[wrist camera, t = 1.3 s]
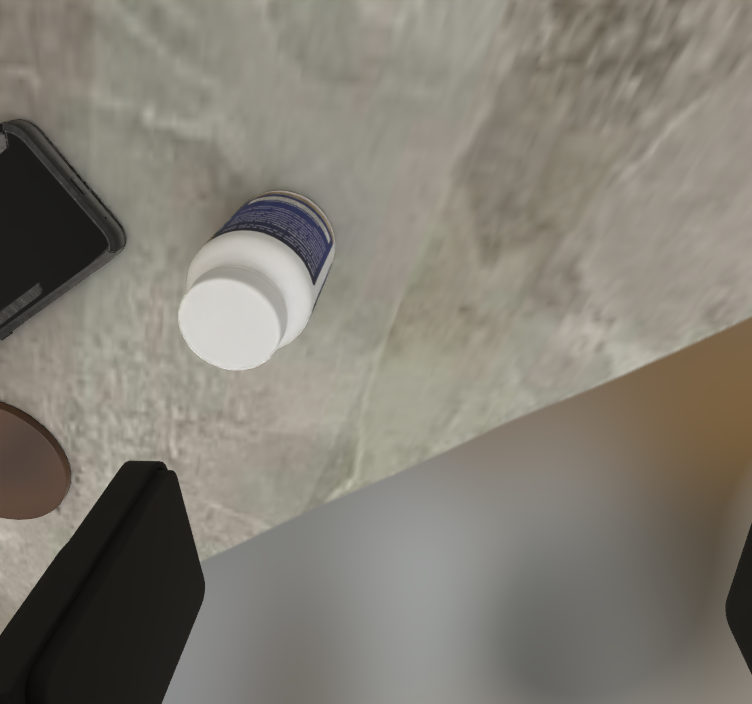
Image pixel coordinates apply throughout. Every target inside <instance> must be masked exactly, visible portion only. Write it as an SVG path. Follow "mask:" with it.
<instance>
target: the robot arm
mask: <svg viewBox="0 0 752 704" xmlns="http://www.w3.org/2000/svg"><path fill="white" fill-rule="evenodd" d="M204 593H205V581H204V577H203V573H202V569H201V565H200V561H199V558H198V554H197V550H196V546H195V542H194V539H193V535H192V531H191V527H190V524H189V520H188V516H187V512H186V508H185V505H184V501H183V497H182V493H181V490H180V486H179V482H178V478H177V475H176V473H175V472H174V471H172V470H168V469H167V467H166V465H165V464H164V463H163V462H160V461H128V462H125V463H124V464H123V466H122V467H121V468H120V469H119V471H118V472H117V474H116V475H115V477H114V478H113V479H112V481H111V482H110V484H109V485H108V486H107V488H106V489H105V491H104V492H103V494H102V495H101V496H100V498H99V499H98V501H97V502H96V503H95V505H94V506H93V508H92V509H91V511H90V512H89V513H88V515H87V516H86V518H85V519H84V521H83V522H82V523H81V525H80V526H79V528H78V529H77V530H76V532H75V533H74V535H73V536H72V538H71V539H70V540H69V542H68V543H67V544H66V545H65V546H64V547H63V548H62V549H61V550H60V552H59V553H58V554H57V556H56V557H55V559H54V560H53V561H52V563H51V564H50V566H49V567H48V568H47V570H46V571H45V573H44V574H43V576H42V577H41V578H40V580H39V581H38V583H37V584H36V585H35V587H34V588H33V590H32V591H31V592H30V594H29V595H28V597H27V598H26V600H25V601H24V602H23V604H22V605H21V607H20V608H19V609H18V611H17V612H16V614H15V615H14V616H13V618H12V619H11V621H10V622H9V624H8V625H7V626H6V628H5V629H4V631H3V632H2V633H1V635H0V704H162V701H163V699H164V696H165V693H166V691H167V689H168V686H169V684H170V681H171V679H172V676H173V674H174V671H175V669H176V666H177V664H178V662H179V659H180V656H181V654H182V652H183V649H184V647H185V644H186V642H187V639H188V637H189V634H190V632H191V629H192V627H193V624H194V622H195V620H196V617H197V614H198V612H199V610H200V607H201V605H202V602H203V598H204ZM726 617H727V621H728V624H729V627H730V629H731V631H732V634H733V636H734V638H735V640H736V642H737V644H738V646H739V648H740V650H741V653H742V655H743V657H744V659H745V661H746V663H747V665H748V668H749V670H750V672H751V674H752V524H751V527H750V530H749V533H748V536H747V539H746V542H745V545H744V548H743V552H742V555H741V558H740V560H739V563H738V567H737V570H736V573H735V576H734V579H733V582H732V585H731V588H730V591H729V594H728V597H727V600H726Z"/></svg>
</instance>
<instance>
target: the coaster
mask: <svg viewBox="0 0 752 704" xmlns="http://www.w3.org/2000/svg"><path fill="white" fill-rule="evenodd" d="M70 483H71V472H70V466H69V463H68V460H67V457H66V455H65V453H64V451H63V449H62V448H61V446H60V445H59V443H58V442H57V441H56V439H55V438H54V437H53V436H52V435H51V434H50V433H49V432H48V431H47V430H46V429H45V428H44V427H43V426H42V425H41V424H40V423H38V422H37V421H36V420H34V419H33V418H31V417H30V416H29V415H27V414H25V413H24V412H22V411H20V410H18V409H16V408H14V407H12V406H10V405H7V404H5V403H2V402H0V518H6V519H16V520H23V519H32V518H37V517H41V516H43V515H46V514H48V513H50V512H51V511H53V510H54V509H55V508H56V507H57V506H58V505H59V504H60V503H61V502H62V501H63V499H64V498H65V496H66V495H67V493H68V490H69V488H70Z"/></svg>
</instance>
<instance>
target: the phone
mask: <svg viewBox="0 0 752 704" xmlns="http://www.w3.org/2000/svg"><path fill="white" fill-rule="evenodd" d="M125 243H126V239H125V234H124V231H123V229H122V227H121V226H120V224H119V223H118V222H117V221H116V219H115V218H114V217H113V216H112V215H111V213H110V212H109V211H108V210H107V209H106V208H105V206H104V205H103V204H102V203H101V202H100V201H99V199H98V198H97V197H96V196H95V195H94V193H93V192H92V191H91V190H90V189H89V188H88V186H87V185H86V184H85V183H84V182H83V180H82V179H81V178H80V177H79V176H78V175H77V173H76V172H75V171H74V170H73V169H72V168H71V166H70V165H69V164H68V163H67V162H66V160H65V159H64V158H63V157H62V156H61V155H60V153H59V152H58V151H57V150H56V149H55V148H54V146H53V145H52V144H51V143H50V142H49V140H48V139H47V138H46V137H45V136H44V135H43V133H42V132H41V131H40V130H39V129H38V128H37V127H36V126H35V125H33V124H31V123H29V122H28V121H24V120H20V119H18V120H11V121H8V122H4V123H1V124H0V339H1V340H3V339H5V338H6V337H8V336H9V335H10V334H12V333H13V332H12V331H13V330H14V329H15V328H17V327H18V326H20V325H21V324H22V323H24V322H25V321H27V320H28V319H29V318H31V317H32V316H33V315H35V314H36V313H38V312H39V311H40V310H42V309H43V308H45V307H46V306H47V305H49V304H50V303H52V302H53V301H54V300H56V299H57V298H59V297H60V296H61V295H63V294H64V293H66V292H67V291H68V290H70V289H71V288H73V287H74V286H75V285H77V284H78V283H79V282H81V281H82V280H84V279H85V278H86V277H88V276H89V275H91V274H92V273H93V272H95V271H96V270H98V269H99V268H100V267H102V266H103V265H105V264H106V263H107V262H109V261H110V260H111V259H113V258H114V257H115V256H116V255H118V254H119V253H120V252H121V251H122V250H123V249H124V246H125Z"/></svg>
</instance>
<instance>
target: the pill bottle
mask: <svg viewBox="0 0 752 704" xmlns="http://www.w3.org/2000/svg"><path fill="white" fill-rule="evenodd" d="M334 254H335V238H334V234H333V230H332V227H331V225H330V223H329V221H328V219H327V217H326V216H325V214H324V213H323V212H322V210H321V209H320V208H319V207H318V206H317V205H316V204H314V203H313V202H312V201H310V200H309V199H307V198H306V197H304V196H302V195H299V194H296V193H293V192H289V191H269V192H265V193H262V194H259V195H257V196H255V197H253V198H252V199H250V200H249V201H248V202H246V203H245V204H244V205H243V206H242V207H241V208H240V209H239V210H238V211H237V212H236V213H235V214H234V215H233V216H232V217H231V218H230V219H229V220H228V221H227V222H226V223H225V224H224V225H223V226H222V227H221V228H220V229H219V230H218V231H217V232H216V233H215V234H214V235H213V236H212V237H211V239H210V240H209V241H208V242H207V243H206V244H205V245H204V246H203V247H202V248H201V249H200V250H199V252H198V253H197V254H196V256H195V257H194V259H193V261H192V262H191V265H190V267H189V270H188V274H187V279H186V293H185V295H184V297H183V298H182V300H181V302H180V306H179V311H178V323H179V328H180V331H181V334H182V336H183V338H184V340H185V341H186V343H187V344H188V346H189V347H190V348H191V350H192V351H193V352H194V353H195V354H197V355H198V356H199V357H200V358H201V359H203V360H204V361H206V362H208V363H210V364H212V365H214V366H216V367H219V368H222V369H227V370H236V371H239V370H248V369H252V368H255V367H257V366H259V365H261V364H263V363H264V362H266V361H267V360H268V359H269V358H270V357H271V356H272V355H273V354H274V353H275V351H276V349H279V348H281V347H283V346H285V345H287V344H289V343H290V342H292V341H293V340H294V339H295V338H296V337H298V336H299V334H300V333H301V332H302V331H303V329H304V328H305V326H306V324H307V323H308V321H309V319H310V317H311V314H312V312H313V309H314V307H315V305H316V302H317V299H318V297H319V295H320V292H321V290H322V287H323V285H324V283H325V280H326V278H327V275H328V273H329V271H330V268H331V265H332V262H333V259H334Z"/></svg>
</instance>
